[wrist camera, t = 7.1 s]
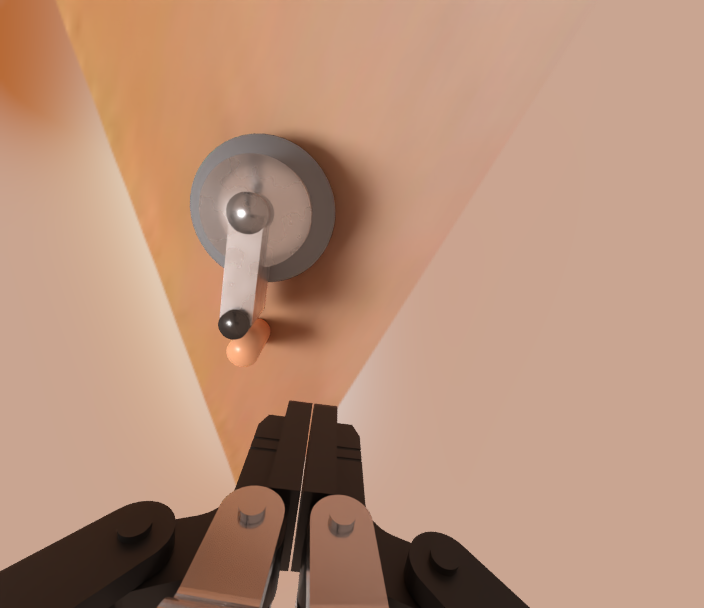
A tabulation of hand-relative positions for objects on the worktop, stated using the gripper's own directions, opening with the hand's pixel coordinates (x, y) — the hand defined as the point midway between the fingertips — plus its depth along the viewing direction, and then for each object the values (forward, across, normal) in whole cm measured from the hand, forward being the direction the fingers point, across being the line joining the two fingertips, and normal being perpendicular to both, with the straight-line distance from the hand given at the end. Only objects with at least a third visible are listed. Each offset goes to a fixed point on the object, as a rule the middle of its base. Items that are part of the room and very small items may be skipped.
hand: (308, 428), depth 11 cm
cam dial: (+16, +5, -3) cm, 17 cm away
